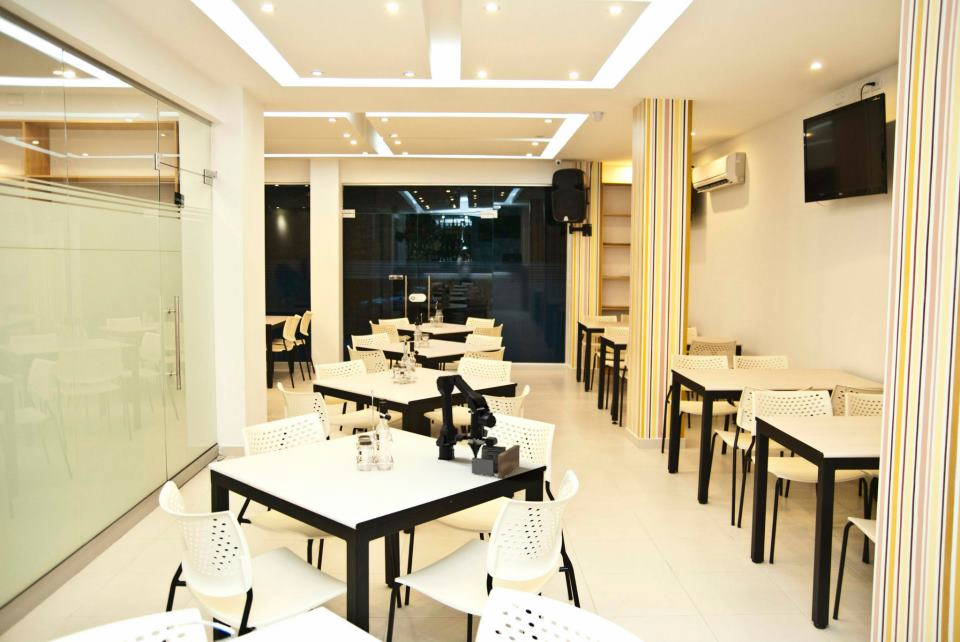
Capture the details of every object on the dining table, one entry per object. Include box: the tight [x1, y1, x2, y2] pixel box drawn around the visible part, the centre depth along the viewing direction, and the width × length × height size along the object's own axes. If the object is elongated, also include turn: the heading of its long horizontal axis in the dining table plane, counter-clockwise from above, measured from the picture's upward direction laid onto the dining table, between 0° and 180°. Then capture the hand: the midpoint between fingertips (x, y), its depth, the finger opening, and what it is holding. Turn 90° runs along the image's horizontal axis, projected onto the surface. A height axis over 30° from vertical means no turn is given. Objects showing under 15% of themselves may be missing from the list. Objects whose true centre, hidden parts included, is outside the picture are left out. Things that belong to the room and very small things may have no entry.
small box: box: [480, 444, 507, 473], centre depth 311 cm, size 11×6×10 cm, turn 82°
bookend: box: [471, 457, 495, 477], centre depth 304 cm, size 10×1×7 cm, turn 67°
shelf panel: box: [497, 444, 521, 480], centre depth 308 cm, size 2×22×10 cm, turn 158°
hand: (475, 458), depth 314 cm, fingers closed
